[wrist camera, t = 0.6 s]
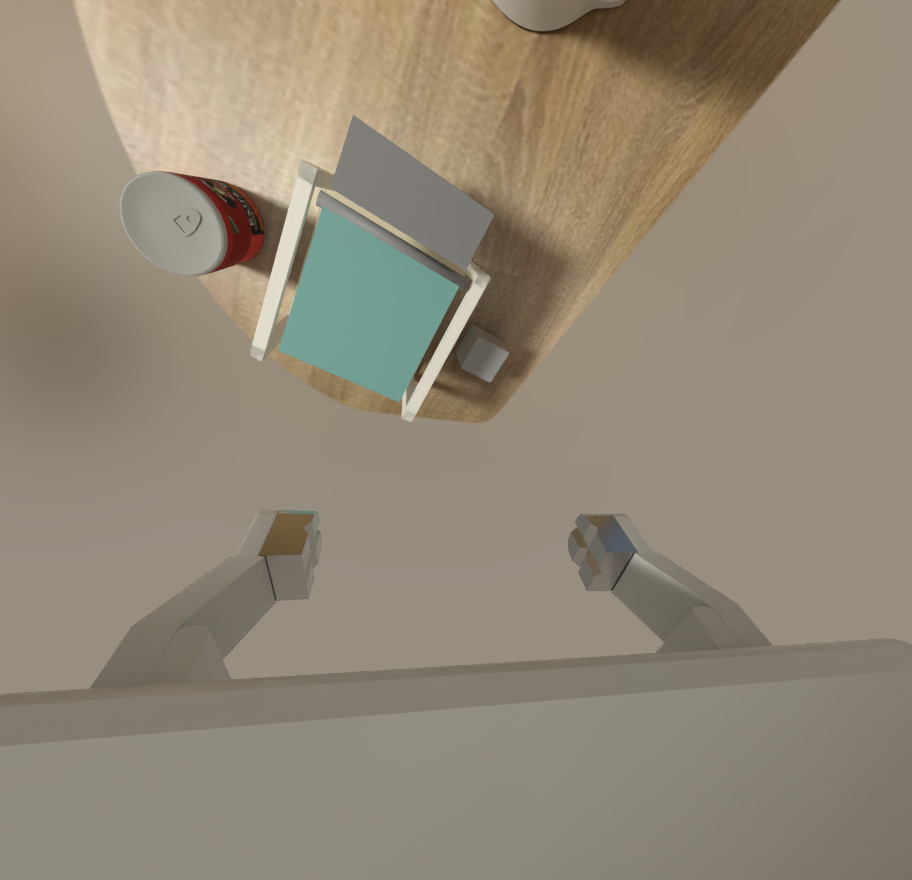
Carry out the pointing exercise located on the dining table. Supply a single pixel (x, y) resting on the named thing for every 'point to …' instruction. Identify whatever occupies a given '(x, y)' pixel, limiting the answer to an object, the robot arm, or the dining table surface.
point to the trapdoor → (381, 266)
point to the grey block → (481, 353)
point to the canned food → (190, 222)
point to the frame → (292, 230)
